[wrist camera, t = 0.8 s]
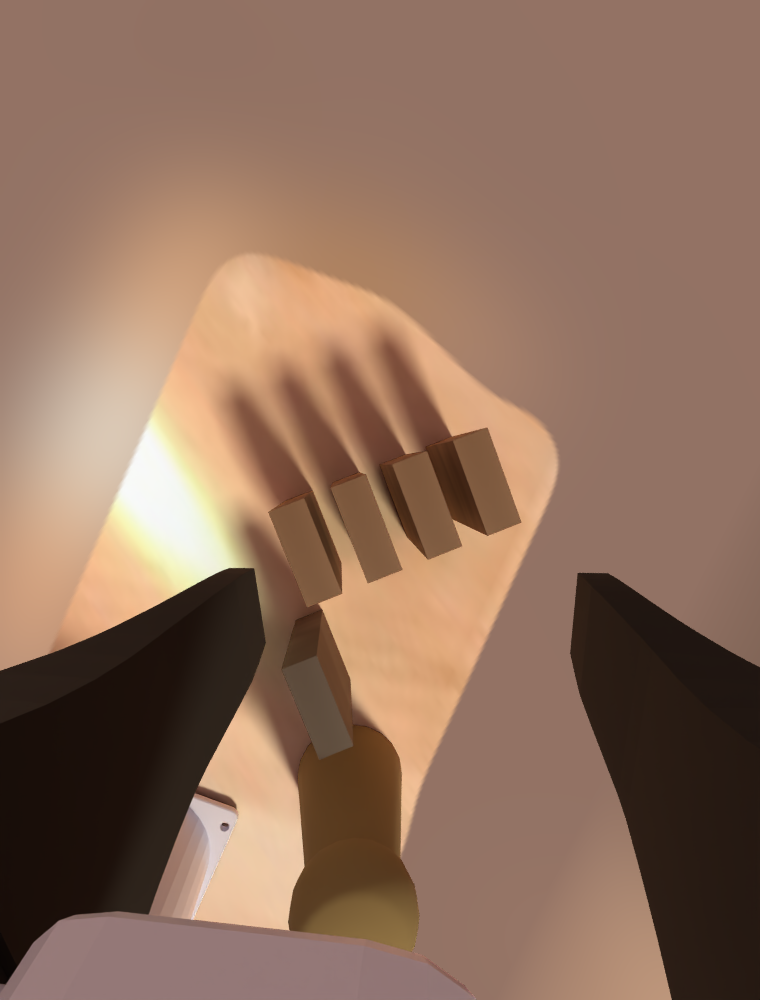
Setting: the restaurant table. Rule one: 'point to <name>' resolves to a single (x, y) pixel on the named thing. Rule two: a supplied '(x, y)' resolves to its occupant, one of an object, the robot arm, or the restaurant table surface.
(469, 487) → the tile
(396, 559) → the tile
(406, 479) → the tile
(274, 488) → the restaurant table surface
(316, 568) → the tile
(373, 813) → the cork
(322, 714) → the tile
